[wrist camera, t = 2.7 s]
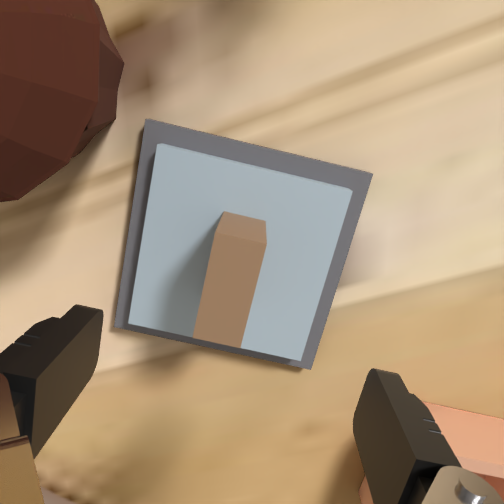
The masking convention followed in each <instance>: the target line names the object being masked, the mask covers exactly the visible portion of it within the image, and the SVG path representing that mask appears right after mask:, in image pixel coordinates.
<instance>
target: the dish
mask: <svg viewBox="0 0 504 504" xmlns="http://www.w3.org/2000/svg"><path fill="white" fill-rule="evenodd" d="M423 403H424V404H425V405H426V406H427V407H428V409H429V411H430V412H431V414H432V416H433V418H434V419H435V423H437V424H438V426H439V428H440V430H441V431H442V432H441V434H443V435H444V437H445V438H446V440H447V442H448V444H449V445H450V447H451V449H452V450H453V452H454V454H455V456H456V457H457V459H458V461H459V463H460V464H461V466H462V468H464V469H466V470H469V471H471V472H473V473H474V474H476V475H478V476H479V477H481V478H482V479H484V480H485V481H486V482H488V483H489V484H490V485H491V486H492V487H493V488H494V489H495V490H496V491H497V493H498V494H499V495H500V496H501V498H502V500H503V502H504V419H500V418H495V417H491V416H486V415H482V414H477V413H472V412H468V411H463V410H459V409H454V408H449V407H445V406H440V405H436V404H431V403H426V402H423ZM358 493H359V497H360V500H361V504H374V503H373V500H372V496H371V493H370V489H369V486H368V482H367V479H366V475H365V477H364V479H363V482H362V484H361V487H360V489H359V492H358Z"/></svg>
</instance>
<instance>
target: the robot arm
mask: <svg viewBox="0 0 504 504" xmlns="http://www.w3.org/2000/svg"><path fill="white" fill-rule="evenodd" d="M102 324H103V311H102V310H101V309H96V308H91V307H87V306H82V305H74V306H73V307H72V308H71V309H70V310H69V311H68V312H67V313H66V314H65V315H64V316H62V317H61V318H56V317H51V318H48V319H46V320H43V321H41V322H38V323H36V324H34V325H33V326H32V327H31V328H30V329H29V330H27V331H26V332H25V333H24V335H22V336H20V337H19V338H18V339H17V340H16V341H15V343H14V344H13V343H12V344H11V345H10V346H9V347H7V348H6V349H5V350H4V351H3V352H2V353H0V504H44V500H43V496H42V492H41V488H40V483H39V479H38V475H37V471H36V467H35V463H34V459H35V457H36V456H37V455H38V453H39V452H40V450H41V449H42V447H43V446H44V445H45V443H46V442H47V440H48V439H49V437H50V436H51V435H52V433H53V432H54V430H55V429H56V427H57V426H58V425H59V423H60V422H61V420H62V419H63V417H64V416H65V415H66V413H67V412H68V410H69V409H70V407H71V406H72V405H73V403H74V402H75V400H76V399H77V397H78V396H79V394H80V393H81V392H82V390H83V389H84V387H85V386H86V384H87V383H88V382H89V380H90V379H91V377H92V375H93V373H94V371H95V368H96V365H97V361H98V356H99V348H100V340H101V332H102ZM441 432H442V431H441V430H440V428H439V426H438V424H437V423H435V419H434V418H433V416H432V414H431V412H430V411H429V409H428V407H427V406H426V405H425V404H424V403H423V402H422V401H421V400H419V399H418V398H417V397H416V396H415V395H414V394H410V393H409V392H408V390H407V388H406V386H405V384H404V383H403V381H402V379H401V377H400V375H399V374H397V373H393V372H388V371H383V370H379V369H374V368H373V369H371V370H370V371H369V373H368V375H367V378H366V381H365V384H364V387H363V390H362V393H361V395H360V398H359V401H358V404H357V407H356V410H355V413H354V418H353V433H354V437H355V440H356V444H357V447H358V451H359V454H360V458H361V461H362V465H363V468H364V472H365V475H366V479H367V482H368V486H369V489H370V493H371V496H372V500H373V503H374V504H504V502H503V500H502V498H501V496H500V495H499V494H498V493H497V491H496V490H495V489H494V488H493V487H492V486H491V485H490V484H489V483H488V482H486V481H485V480H484V479H482V478H481V477H479V476H478V475H476V474H474V473H473V472H471V471H469V470H466V469H464V468H462V466H461V464H460V463H459V461H458V459H457V457H456V456H455V454H454V452H453V450H452V449H451V447H450V445H449V444H448V442H447V440H446V438H445V437H444V435H443V434H441Z"/></svg>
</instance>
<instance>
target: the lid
mask: <svg viewBox="0 0 504 504" xmlns="http://www.w3.org/2000/svg"><path fill="white" fill-rule="evenodd" d="M352 192H353V191H352V190H350V189H349V188H345V187H341V186H337V185H333V184H328V183H324V182H320V181H316V180H312V179H308V178H304V177H299V176H295V175H291V174H287V173H283V172H279V171H275V170H270V169H266V168H262V167H258V166H254V165H250V164H245V163H241V162H237V161H233V160H229V159H225V158H221V157H216V156H212V155H208V154H204V153H200V152H196V151H192V150H187V149H183V148H179V147H175V146H171V145H167V144H162V143H161V144H157V149H156V155H155V161H154V167H153V173H152V179H151V185H150V192H149V198H148V204H147V210H146V216H145V222H144V228H143V235H142V241H141V247H140V253H139V259H138V265H137V272H136V278H135V284H134V290H133V296H132V302H131V308H130V315H129V321H128V323H129V324H133V325H138V326H143V327H147V328H152V329H156V330H161V331H165V332H170V333H175V334H179V335H184V336H188V337H192V338H196V339H200V340H205V341H210V342H214V343H219V344H223V345H228V346H232V347H237V348H243V349H248V350H252V351H257V352H261V353H266V354H270V355H275V356H280V357H284V358H289V359H293V360H298V361H301V358H302V355H303V352H304V349H305V345H306V342H307V339H308V336H309V332H310V329H311V326H312V323H313V319H314V316H315V313H316V310H317V306H318V303H319V300H320V297H321V293H322V290H323V287H324V283H325V280H326V277H327V274H328V270H329V267H330V264H331V261H332V257H333V254H334V251H335V248H336V244H337V241H338V238H339V235H340V231H341V228H342V225H343V222H344V218H345V215H346V212H347V209H348V205H349V202H350V199H351V196H352Z"/></svg>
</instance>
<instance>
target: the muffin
mask: <svg viewBox="0 0 504 504" xmlns="http://www.w3.org/2000/svg"><path fill="white" fill-rule="evenodd" d="M123 66H124V62H123V60H122V58H121V56H120V55H119V53H118V51H117V49H116V47H115V46H114V44H113V42H112V40H111V38H110V36H109V34H108V31H107V28H106V25H105V22H104V20H103V17H102V14H101V11H100V8H99V6H98V5H97V3H96V2H95V0H0V202H5V201H12V200H18V199H20V198H21V197H23V196H24V195H25V194H27V193H28V192H29V191H31V190H32V189H34V188H35V187H36V186H38V185H39V184H41V183H42V182H43V181H45V180H46V179H47V178H49V177H50V176H52V175H53V174H54V173H56V172H57V171H58V170H60V169H61V168H63V167H64V166H65V165H67V164H68V163H69V161H70V159H71V158H72V157H74V156H76V155H77V154H79V153H80V152H81V151H82V150H83V149H84V147H85V146H86V145H87V144H88V143H89V142H90V140H91V139H92V138H93V137H94V136H95V134H97V133H98V132H99V131H100V130H102V129H103V128H104V127H106V126H107V125H108V124H110V123H111V122H112V121H113V120H115V119H116V108H117V91H118V87H119V83H120V79H121V74H122V70H123Z"/></svg>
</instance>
